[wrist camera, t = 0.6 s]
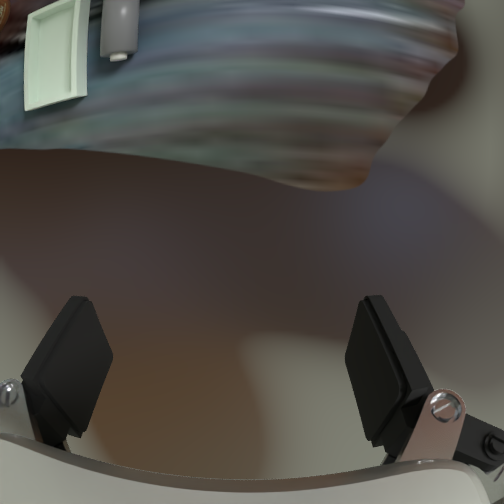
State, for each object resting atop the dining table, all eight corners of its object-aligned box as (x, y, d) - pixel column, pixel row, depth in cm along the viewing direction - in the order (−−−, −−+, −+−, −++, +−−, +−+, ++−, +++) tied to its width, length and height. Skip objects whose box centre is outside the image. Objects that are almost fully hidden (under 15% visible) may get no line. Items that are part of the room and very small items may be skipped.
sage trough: (38, 17, 22) (28, 14, 20) (91, -4, 22) (81, -9, 20) (36, 109, 29) (24, 111, 27) (87, 95, 29) (76, 96, 27)
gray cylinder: (113, -9, 23) (99, -18, 19) (146, -16, 23) (134, -28, 19) (109, 64, 28) (93, 61, 24) (142, 58, 28) (128, 54, 24)
